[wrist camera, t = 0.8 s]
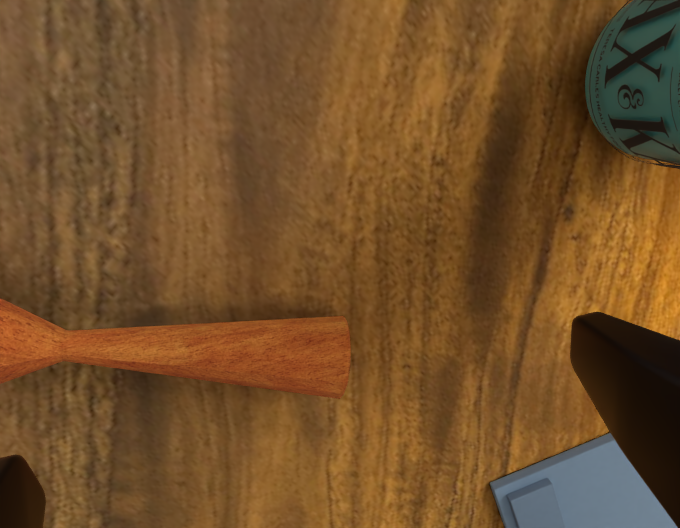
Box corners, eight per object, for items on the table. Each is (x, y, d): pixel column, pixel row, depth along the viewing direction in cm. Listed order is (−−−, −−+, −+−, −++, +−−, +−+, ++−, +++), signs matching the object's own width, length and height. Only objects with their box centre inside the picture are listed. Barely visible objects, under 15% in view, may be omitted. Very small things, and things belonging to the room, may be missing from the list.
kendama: (339, 466, 22) (-313, 473, 17) (316, 369, 27) (-187, 353, 22) (371, 337, 19) (-388, 300, 14) (339, 258, 24) (-225, 210, 19)
